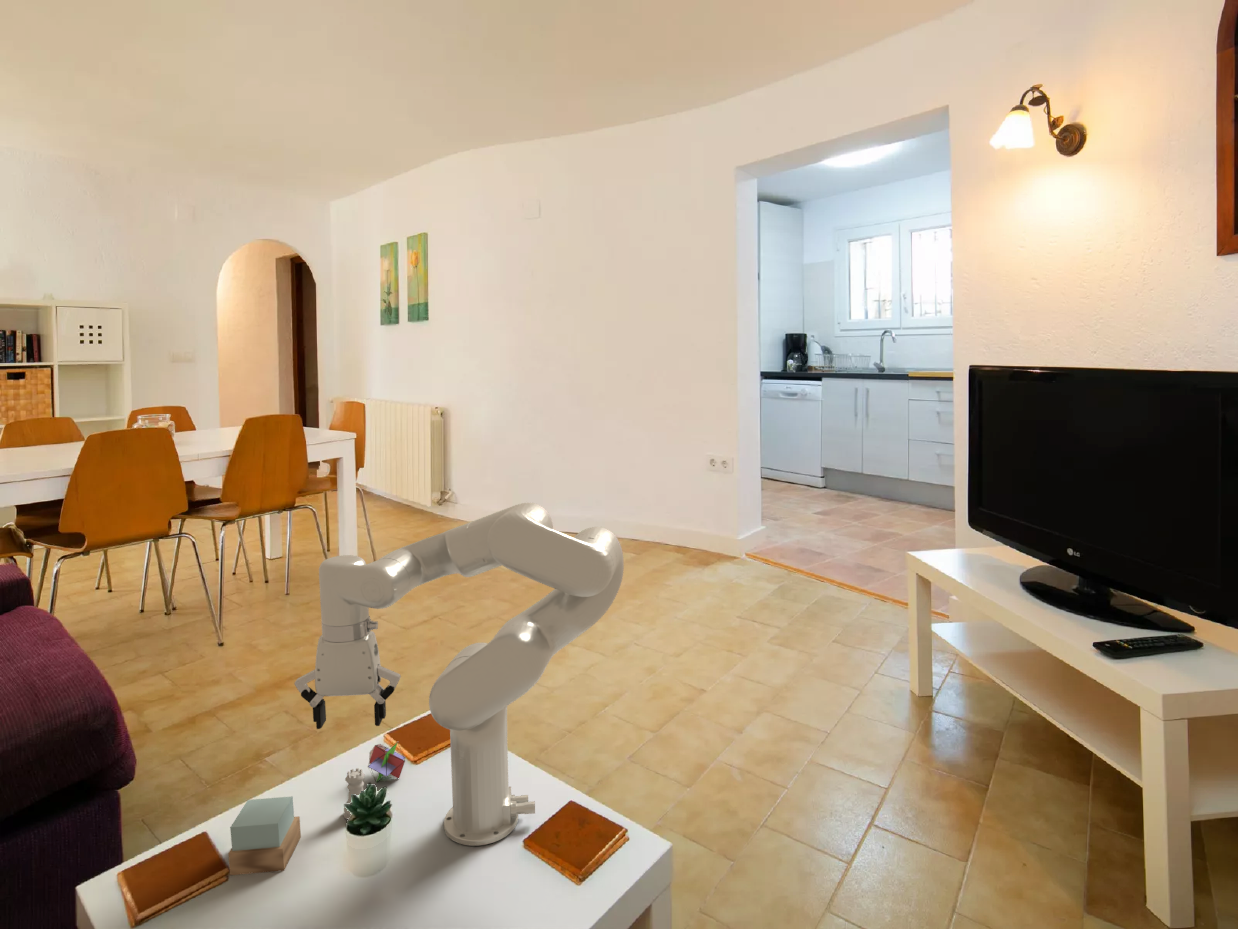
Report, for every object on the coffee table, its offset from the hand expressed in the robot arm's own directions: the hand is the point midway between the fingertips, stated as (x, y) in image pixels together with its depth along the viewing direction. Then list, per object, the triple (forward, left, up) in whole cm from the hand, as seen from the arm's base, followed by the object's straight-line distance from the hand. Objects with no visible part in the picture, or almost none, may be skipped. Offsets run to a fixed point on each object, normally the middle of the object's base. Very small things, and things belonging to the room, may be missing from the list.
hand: (350, 723), depth 121 cm
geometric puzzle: (-3, -11, -17) cm, 21 cm away
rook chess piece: (0, 0, -17) cm, 17 cm away
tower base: (+12, +9, -17) cm, 23 cm away
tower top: (+12, +9, -13) cm, 20 cm away
